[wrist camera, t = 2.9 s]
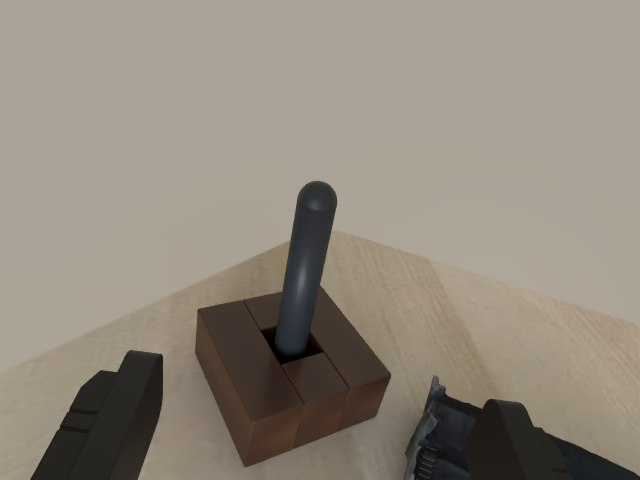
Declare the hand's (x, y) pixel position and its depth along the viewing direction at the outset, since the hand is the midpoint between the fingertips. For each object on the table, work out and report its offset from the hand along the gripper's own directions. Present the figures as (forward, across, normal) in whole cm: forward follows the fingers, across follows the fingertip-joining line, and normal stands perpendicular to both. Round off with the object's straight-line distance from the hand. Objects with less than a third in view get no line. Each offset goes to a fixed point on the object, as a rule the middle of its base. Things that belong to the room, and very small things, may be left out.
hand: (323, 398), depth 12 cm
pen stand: (+11, 0, +12) cm, 17 cm away
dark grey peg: (+11, 0, +12) cm, 17 cm away
